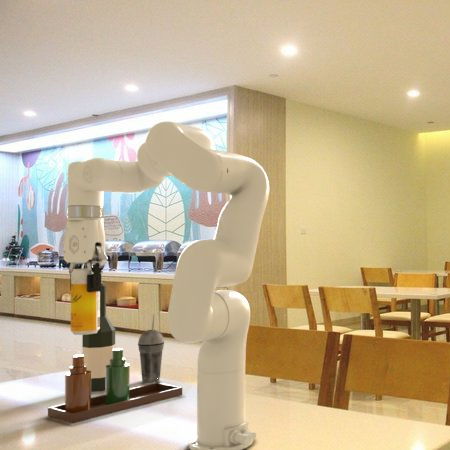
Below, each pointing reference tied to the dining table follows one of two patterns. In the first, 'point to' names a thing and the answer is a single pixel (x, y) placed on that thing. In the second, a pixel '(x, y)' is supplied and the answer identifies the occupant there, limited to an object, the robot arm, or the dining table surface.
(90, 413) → the tray
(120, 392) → the green bottle
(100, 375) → the wine bottle
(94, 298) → the beer can
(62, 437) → the dining table surface
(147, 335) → the beverage cup
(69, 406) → the amber bottle
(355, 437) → the dining table surface
